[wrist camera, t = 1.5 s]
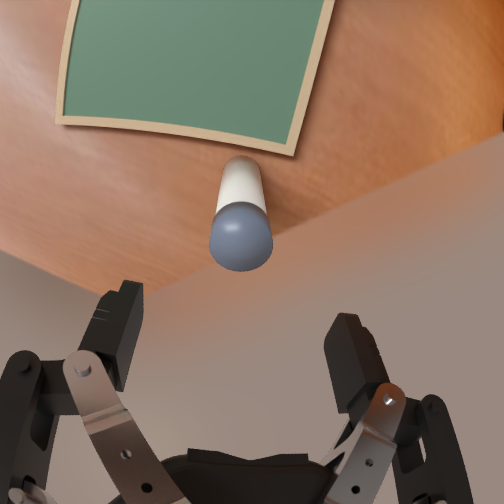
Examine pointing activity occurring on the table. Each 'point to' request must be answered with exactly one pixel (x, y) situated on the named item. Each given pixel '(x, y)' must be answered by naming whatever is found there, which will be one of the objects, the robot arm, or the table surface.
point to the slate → (193, 67)
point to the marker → (241, 218)
